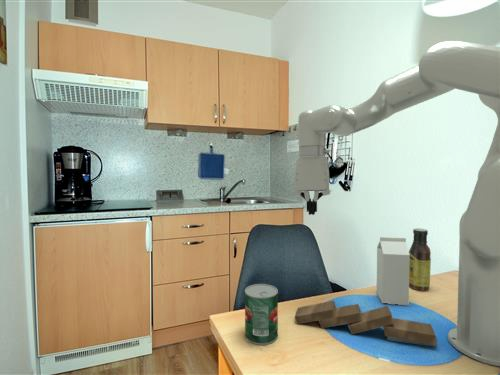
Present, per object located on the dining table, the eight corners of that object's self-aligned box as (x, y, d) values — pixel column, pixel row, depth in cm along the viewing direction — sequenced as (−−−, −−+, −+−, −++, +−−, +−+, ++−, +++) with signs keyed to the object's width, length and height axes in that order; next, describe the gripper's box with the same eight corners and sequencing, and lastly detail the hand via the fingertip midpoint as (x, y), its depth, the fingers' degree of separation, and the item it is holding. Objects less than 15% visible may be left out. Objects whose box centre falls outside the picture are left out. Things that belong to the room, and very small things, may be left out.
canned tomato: (240, 329, 69) (240, 286, 68) (269, 323, 71) (269, 281, 71) (252, 348, 61) (251, 299, 61) (283, 340, 64) (283, 294, 63)
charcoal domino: (383, 330, 69) (428, 336, 66) (387, 342, 64) (436, 349, 62) (383, 323, 69) (428, 328, 66) (387, 334, 64) (437, 340, 61)
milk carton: (408, 306, 80) (410, 241, 79) (382, 304, 82) (383, 240, 81) (400, 295, 87) (401, 235, 86) (376, 293, 88) (377, 234, 88)
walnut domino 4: (382, 324, 68) (430, 332, 64) (384, 335, 64) (435, 344, 60) (383, 316, 68) (430, 324, 64) (384, 326, 63) (436, 335, 60)
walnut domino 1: (300, 314, 76) (336, 307, 73) (297, 324, 71) (335, 317, 68) (297, 307, 76) (333, 300, 73) (294, 316, 71) (333, 309, 68)
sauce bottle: (408, 282, 97) (409, 226, 96) (429, 286, 94) (431, 228, 93) (407, 289, 91) (409, 229, 90) (430, 293, 88) (431, 231, 87)
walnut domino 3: (351, 324, 71) (391, 313, 68) (352, 334, 66) (394, 323, 63) (348, 316, 71) (387, 305, 68) (348, 326, 66) (390, 314, 63)
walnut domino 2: (322, 318, 74) (361, 311, 71) (321, 328, 69) (362, 321, 66) (320, 311, 74) (358, 303, 71) (318, 320, 69) (359, 313, 66)
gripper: (337, 153, 84) (337, 213, 85) (288, 155, 89) (289, 212, 90) (337, 151, 77) (337, 216, 78) (284, 153, 82) (285, 215, 83)
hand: (311, 214), depth 84 cm, fingers closed
